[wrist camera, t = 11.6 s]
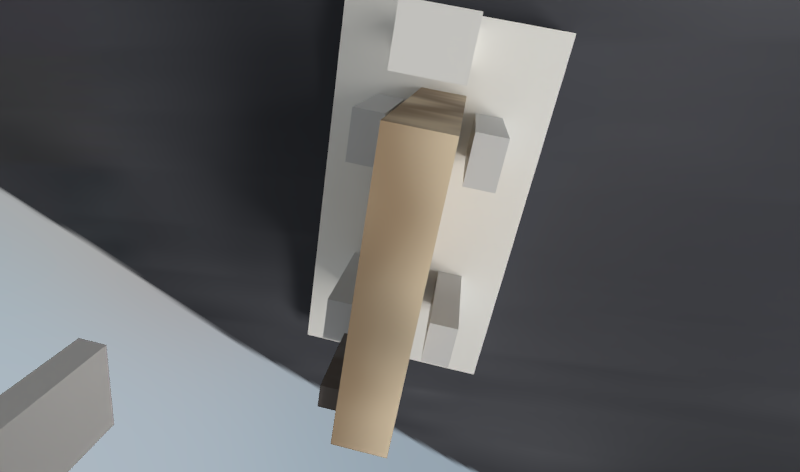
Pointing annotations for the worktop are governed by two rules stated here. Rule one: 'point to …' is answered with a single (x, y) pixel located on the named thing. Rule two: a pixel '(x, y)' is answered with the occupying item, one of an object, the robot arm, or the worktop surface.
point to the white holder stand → (473, 165)
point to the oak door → (392, 268)
